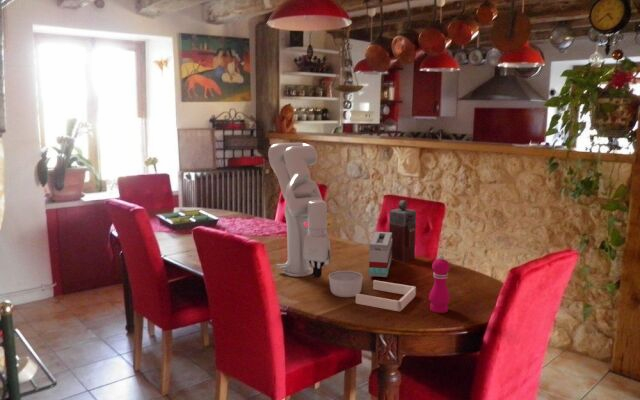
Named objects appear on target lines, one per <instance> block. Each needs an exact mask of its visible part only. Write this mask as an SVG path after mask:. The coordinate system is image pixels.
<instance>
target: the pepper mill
mask: <svg viewBox="0 0 640 400" xmlns="http://www.w3.org/2000/svg"><path fill="white" fill-rule="evenodd" d="M431 268H432V271H433V275H432V276H433V279H434V283H433V286H432V288H431V290H430V291H429V292H430V293H429V294H428V295H429V296H428V299H429V301H430V304H429V305H430V306H429V309H430V311H432V312H434V313H437V314H443V313H447V312H448V311H449V305H448V304H449V303H450V302H451V295H450V292H449V289H448V286H447V279H448V278H449V277H448V276H449V273H448V272H449V271H450V269H451V267H450V263H449V262H448V260H447V259H445V256H444V255H443V254H440V255H438V258H437V259H435V260H434V261H433V263H432V265H431Z"/></svg>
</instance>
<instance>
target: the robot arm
mask: <svg viewBox="0 0 640 400" xmlns="http://www.w3.org/2000/svg"><path fill="white" fill-rule="evenodd" d="M267 156H268V161H269V162H268V163H269V165H270V167H271V169H272V170H273V172H274V174H275V176H276V177H277V182H278V184H279V188H280V191H281V193H282V197H283V199H284V200H285V203H286V205H285V206H284V217H285V222H286V238H287V241H286V242H287V244H286V245H287V246H286V247H287V248H286V249H287V253H286V254H287V257H286V258H287V260H286V261H285V262H283V263H276V269H279V270H283V274H285V275H286V276H290V277H295V278H296V277H297V278H299V277H307V276H311V275H313V278H315V279H319V278H320V277H322V275H323V274H322V272H323V271H322V270H323V269H322V267H324V266H325V265H329V264H331V261H330V259H331V242H330V237H329V235H328V230H327V229H328V226H327V225H328V220H327V219H328V215H327V214H328V213H327V212H328V211H327V210H328V207H327V206H328V205H327V204H328V203H327V202H326V201H325V200H323V197H322V194H321V191H320V188H319V186H318V184H317V182H316V181H315V180H312V179H311V172H310V170H309V166H314V165H316V164H317V162H318V158H319V157H318V156H319V155H318V152H317V150H316V148H315V147H314V146H313V145H311V144H309V143H305V142H278V143H274V144H272V145H271V146H269V148H268V152H267ZM305 223H307V227H306V226H305ZM310 266H311V267H310Z"/></svg>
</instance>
